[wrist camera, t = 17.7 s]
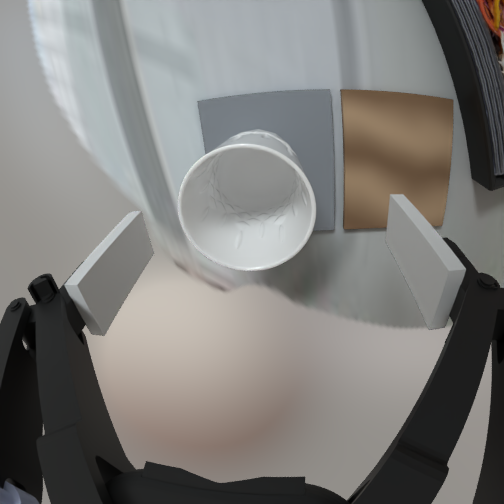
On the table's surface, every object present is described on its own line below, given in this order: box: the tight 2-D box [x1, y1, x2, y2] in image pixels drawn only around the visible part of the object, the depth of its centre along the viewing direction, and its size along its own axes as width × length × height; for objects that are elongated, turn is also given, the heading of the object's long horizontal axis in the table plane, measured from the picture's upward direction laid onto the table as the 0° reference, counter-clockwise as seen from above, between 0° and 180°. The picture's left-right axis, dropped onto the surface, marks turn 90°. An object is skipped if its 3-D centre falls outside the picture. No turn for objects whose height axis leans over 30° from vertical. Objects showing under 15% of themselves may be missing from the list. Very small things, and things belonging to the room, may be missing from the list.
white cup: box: [178, 129, 316, 271], centre depth 21 cm, size 8×8×10 cm
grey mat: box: [197, 89, 334, 231], centre depth 25 cm, size 13×11×1 cm
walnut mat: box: [340, 90, 453, 229], centre depth 23 cm, size 13×11×1 cm
